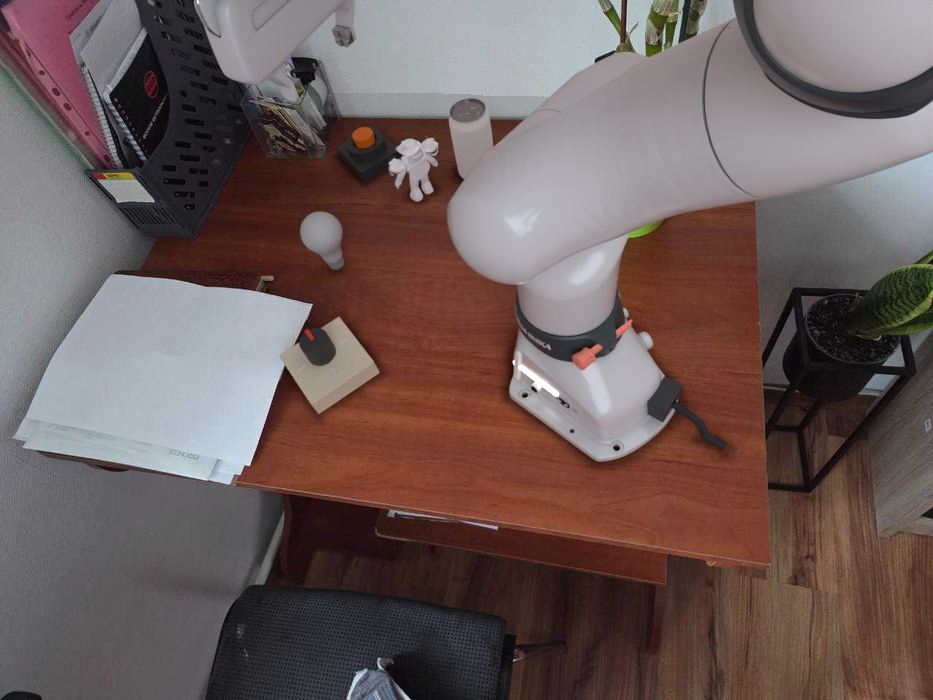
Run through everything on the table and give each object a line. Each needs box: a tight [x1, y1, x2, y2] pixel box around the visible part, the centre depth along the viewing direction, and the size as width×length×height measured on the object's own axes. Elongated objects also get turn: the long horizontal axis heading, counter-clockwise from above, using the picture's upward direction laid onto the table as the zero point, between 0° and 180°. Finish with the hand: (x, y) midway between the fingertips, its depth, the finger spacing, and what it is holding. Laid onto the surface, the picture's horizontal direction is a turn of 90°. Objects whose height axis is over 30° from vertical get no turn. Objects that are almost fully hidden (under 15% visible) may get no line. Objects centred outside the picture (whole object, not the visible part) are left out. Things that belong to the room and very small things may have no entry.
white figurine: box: [388, 137, 439, 202], centre depth 98 cm, size 9×4×12 cm, turn 126°
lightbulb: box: [299, 210, 346, 271], centre depth 92 cm, size 6×6×11 cm
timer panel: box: [278, 316, 380, 415], centre depth 86 cm, size 10×10×3 cm
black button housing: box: [336, 125, 403, 183], centre depth 108 cm, size 9×8×4 cm
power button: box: [351, 126, 375, 149], centre depth 106 cm, size 4×4×2 cm
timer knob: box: [298, 327, 336, 366], centre depth 83 cm, size 4×4×4 cm
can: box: [448, 97, 494, 180], centre depth 99 cm, size 6×6×12 cm
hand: (321, 69), depth 64 cm, fingers open, 8 cm apart
